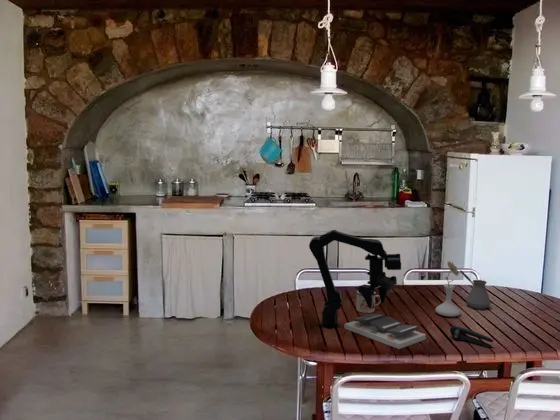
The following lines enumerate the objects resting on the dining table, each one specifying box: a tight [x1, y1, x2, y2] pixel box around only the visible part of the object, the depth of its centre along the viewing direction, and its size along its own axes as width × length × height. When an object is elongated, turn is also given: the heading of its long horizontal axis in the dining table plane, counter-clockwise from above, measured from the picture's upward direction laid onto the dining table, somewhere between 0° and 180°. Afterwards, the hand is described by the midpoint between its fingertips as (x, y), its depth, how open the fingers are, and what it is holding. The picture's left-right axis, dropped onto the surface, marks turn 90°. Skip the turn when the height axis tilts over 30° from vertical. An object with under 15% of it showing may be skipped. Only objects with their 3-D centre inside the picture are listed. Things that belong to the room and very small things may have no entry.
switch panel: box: [343, 319, 427, 350], centre depth 227 cm, size 18×29×3 cm, turn 40°
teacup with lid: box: [355, 290, 381, 314], centre depth 257 cm, size 12×9×12 cm
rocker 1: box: [353, 313, 386, 323], centre depth 234 cm, size 12×7×1 cm, turn 130°
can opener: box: [449, 325, 494, 348], centre depth 219 cm, size 18×7×6 cm, turn 46°
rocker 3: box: [387, 324, 420, 335], centre depth 220 cm, size 12×7×1 cm, turn 130°
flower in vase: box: [435, 260, 462, 317], centre depth 253 cm, size 13×11×25 cm
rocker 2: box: [370, 316, 403, 331], centre depth 227 cm, size 12×7×1 cm, turn 130°
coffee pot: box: [458, 269, 492, 310], centre depth 270 cm, size 21×12×15 cm, turn 19°
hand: (376, 305), depth 232 cm, fingers open, 9 cm apart
